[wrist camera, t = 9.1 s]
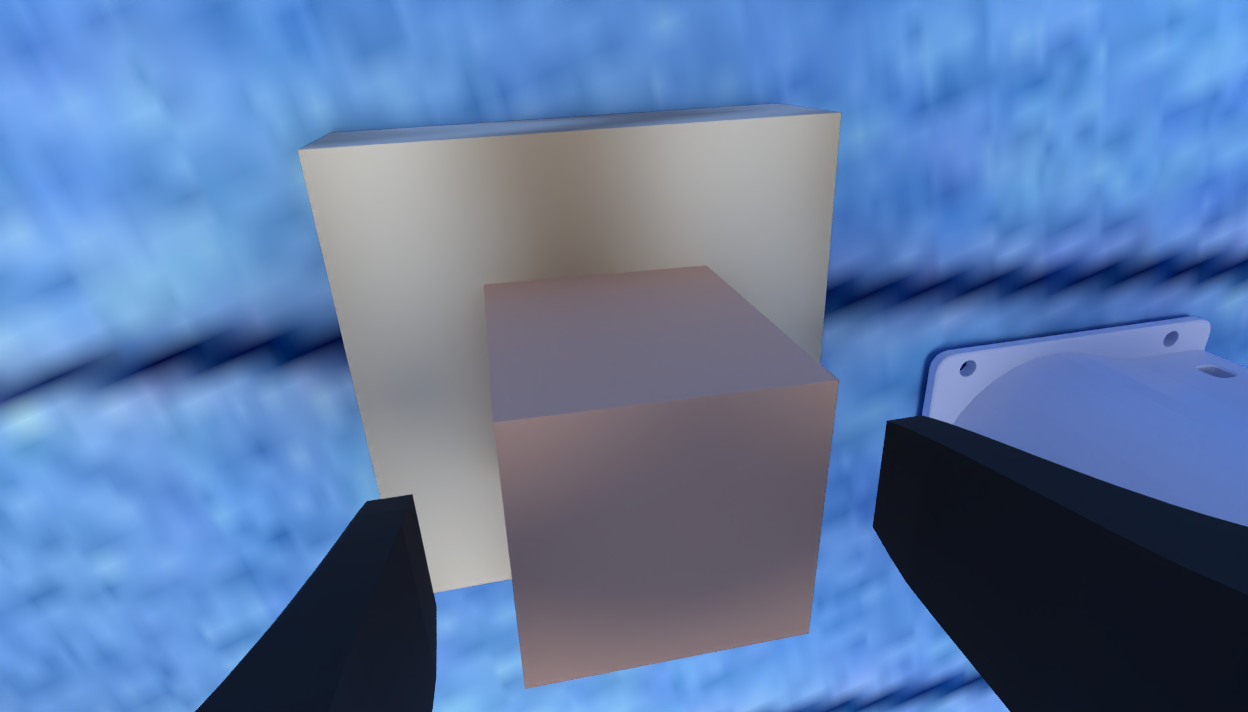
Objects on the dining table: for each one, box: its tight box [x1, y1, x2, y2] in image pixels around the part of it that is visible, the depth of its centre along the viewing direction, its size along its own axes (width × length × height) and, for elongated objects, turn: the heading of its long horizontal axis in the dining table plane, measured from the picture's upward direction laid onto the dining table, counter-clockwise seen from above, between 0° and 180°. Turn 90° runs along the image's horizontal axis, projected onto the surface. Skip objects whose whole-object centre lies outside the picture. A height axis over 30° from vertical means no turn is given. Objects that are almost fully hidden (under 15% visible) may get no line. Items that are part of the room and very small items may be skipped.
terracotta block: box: [484, 265, 839, 689], centre depth 12 cm, size 4×4×6 cm
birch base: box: [298, 103, 841, 593], centre depth 16 cm, size 10×10×3 cm
